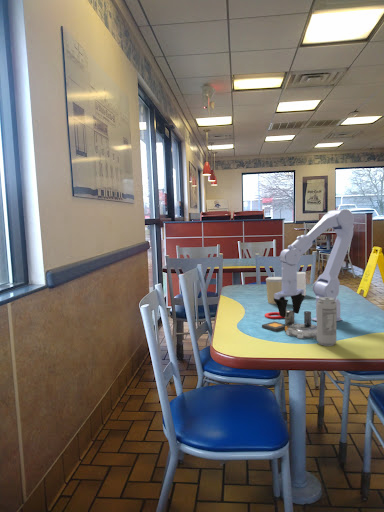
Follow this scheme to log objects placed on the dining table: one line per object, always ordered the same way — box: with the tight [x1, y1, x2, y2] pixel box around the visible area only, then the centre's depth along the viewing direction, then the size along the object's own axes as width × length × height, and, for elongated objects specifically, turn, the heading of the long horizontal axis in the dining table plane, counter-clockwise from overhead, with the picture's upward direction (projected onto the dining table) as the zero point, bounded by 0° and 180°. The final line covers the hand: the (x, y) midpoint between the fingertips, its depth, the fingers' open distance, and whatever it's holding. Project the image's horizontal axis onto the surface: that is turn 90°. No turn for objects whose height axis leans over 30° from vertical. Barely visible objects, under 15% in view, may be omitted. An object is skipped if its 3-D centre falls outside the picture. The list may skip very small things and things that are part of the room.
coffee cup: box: [265, 276, 282, 305], centre depth 180 cm, size 9×9×12 cm
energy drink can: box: [316, 297, 337, 347], centre depth 120 cm, size 6×6×15 cm
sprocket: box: [284, 310, 317, 340], centre depth 132 cm, size 14×14×6 cm
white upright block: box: [297, 271, 307, 297], centre depth 195 cm, size 9×9×12 cm
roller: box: [284, 309, 295, 326], centre depth 144 cm, size 4×4×5 cm
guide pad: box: [261, 321, 290, 332], centre depth 140 cm, size 7×7×1 cm
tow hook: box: [264, 297, 288, 320], centre depth 155 cm, size 8×13×9 cm
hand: (289, 314), depth 144 cm, fingers open, 7 cm apart
